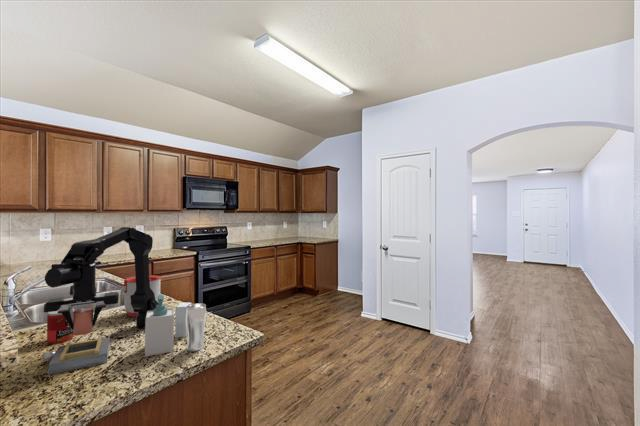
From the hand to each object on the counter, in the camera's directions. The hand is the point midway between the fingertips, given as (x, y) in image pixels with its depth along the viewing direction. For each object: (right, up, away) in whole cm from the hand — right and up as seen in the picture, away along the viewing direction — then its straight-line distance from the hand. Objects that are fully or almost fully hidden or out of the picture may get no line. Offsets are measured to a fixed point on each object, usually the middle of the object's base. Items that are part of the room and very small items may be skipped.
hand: (83, 327), depth 96 cm
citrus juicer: (-9, -11, +44) cm, 46 cm away
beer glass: (+33, -11, +9) cm, 36 cm away
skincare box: (+23, -11, +21) cm, 33 cm away
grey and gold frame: (-1, -10, -1) cm, 10 cm away
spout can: (0, -2, 0) cm, 2 cm away
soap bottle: (+21, -11, +7) cm, 25 cm away
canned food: (-20, -10, +14) cm, 27 cm away
